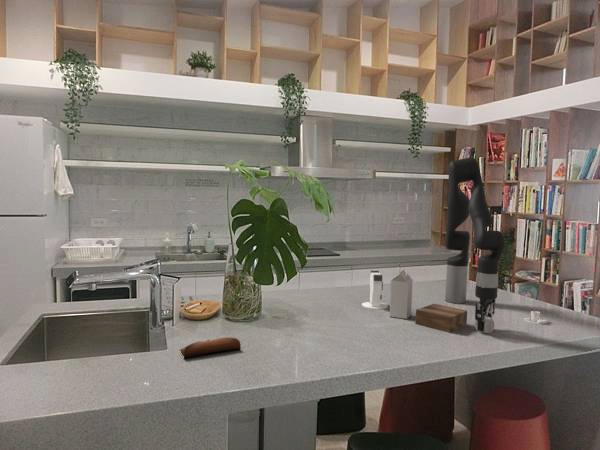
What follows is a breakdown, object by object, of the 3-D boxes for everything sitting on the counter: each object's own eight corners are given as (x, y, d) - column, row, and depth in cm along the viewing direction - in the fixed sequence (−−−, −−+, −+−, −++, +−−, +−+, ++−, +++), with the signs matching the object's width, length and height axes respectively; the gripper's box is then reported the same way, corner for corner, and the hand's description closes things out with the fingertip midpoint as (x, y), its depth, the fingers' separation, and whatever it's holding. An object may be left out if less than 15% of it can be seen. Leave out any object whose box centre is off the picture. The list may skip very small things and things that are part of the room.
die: (482, 333, 163) (483, 320, 162) (474, 329, 168) (474, 316, 167) (494, 332, 164) (495, 319, 164) (485, 328, 169) (486, 315, 169)
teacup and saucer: (550, 326, 175) (550, 316, 175) (528, 324, 177) (528, 314, 177) (542, 319, 184) (543, 310, 184) (522, 318, 185) (522, 308, 185)
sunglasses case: (231, 341, 149) (235, 327, 145) (238, 358, 144) (242, 344, 140) (177, 350, 140) (179, 335, 136) (182, 368, 135) (184, 353, 131)
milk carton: (389, 316, 182) (391, 270, 180) (394, 312, 188) (396, 268, 187) (406, 319, 179) (408, 272, 177) (411, 315, 185) (413, 269, 183)
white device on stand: (390, 309, 192) (391, 275, 191) (363, 309, 193) (364, 274, 191) (385, 302, 204) (386, 270, 203) (360, 302, 205) (361, 269, 203)
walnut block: (433, 318, 183) (433, 303, 182) (466, 325, 173) (467, 310, 173) (415, 324, 173) (415, 309, 172) (449, 333, 163) (450, 317, 163)
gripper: (483, 280, 172) (481, 322, 174) (469, 285, 162) (466, 330, 163) (503, 283, 167) (501, 326, 169) (490, 289, 157) (487, 335, 158)
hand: (484, 328), depth 166 cm, fingers closed on die, 7 cm apart
